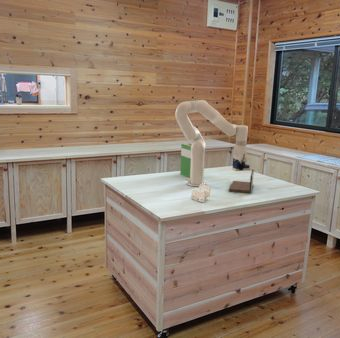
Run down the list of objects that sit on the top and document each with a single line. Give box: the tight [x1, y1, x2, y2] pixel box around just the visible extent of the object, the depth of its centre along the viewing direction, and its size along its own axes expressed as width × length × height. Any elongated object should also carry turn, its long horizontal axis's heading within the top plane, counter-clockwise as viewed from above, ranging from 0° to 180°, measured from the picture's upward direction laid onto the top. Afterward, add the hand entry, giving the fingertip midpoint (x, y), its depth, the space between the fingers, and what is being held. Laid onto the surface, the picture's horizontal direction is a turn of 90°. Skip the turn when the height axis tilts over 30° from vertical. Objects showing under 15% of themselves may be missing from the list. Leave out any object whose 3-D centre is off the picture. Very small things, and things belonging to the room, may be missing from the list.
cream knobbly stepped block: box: [190, 184, 211, 203], centre depth 235 cm, size 12×6×11 cm, turn 40°
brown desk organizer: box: [229, 168, 255, 195], centre depth 264 cm, size 14×24×12 cm, turn 166°
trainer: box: [231, 160, 251, 172], centre depth 265 cm, size 12×5×6 cm, turn 116°
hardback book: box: [179, 143, 192, 178], centre depth 295 cm, size 18×7×24 cm, turn 30°
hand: (238, 168), depth 264 cm, fingers closed on trainer, 5 cm apart
